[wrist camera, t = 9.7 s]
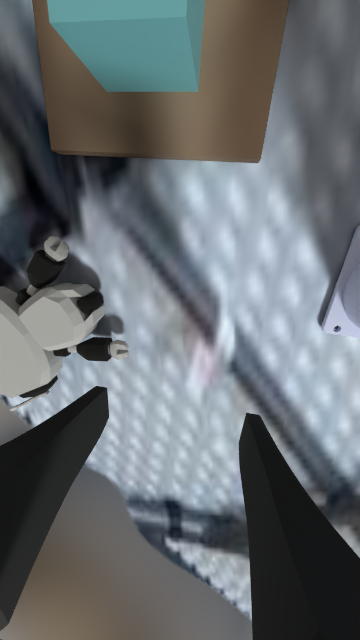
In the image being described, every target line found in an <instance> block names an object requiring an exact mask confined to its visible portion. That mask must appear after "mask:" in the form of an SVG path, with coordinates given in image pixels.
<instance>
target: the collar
mask: <svg viewBox="0 0 360 640" xmlns="http://www.w3.org/2000/svg"><path fill="white" fill-rule="evenodd" d="M47 4H48V13H49V22H50V24H51V25H52V26H53V28H54V29H55V30H56V31H57V32H58V34H59V35H60V36H61V37H62V38H63V40H64V41H65V42H66V43H67V44H68V46H69V47H70V48H71V49H72V50H73V52H74V53H75V54H76V55H77V56H78V58H79V59H80V60H81V61H82V62H83V64H84V65H85V66H86V67H87V68H88V70H89V71H90V72H91V73H92V75H93V76H94V77H95V78H96V79H97V81H98V82H99V83H100V84H101V85H102V87H103V88H104V89H105V90H106V91H107V92H198V87H199V74H200V61H201V47H202V34H203V21H204V8H205V0H47Z"/></svg>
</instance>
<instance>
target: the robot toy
mask: <svg viewBox="0 0 360 640" xmlns="http://www.w3.org/2000/svg"><path fill="white" fill-rule="evenodd" d="M60 240H61V238H59V237H58V236H50V237H49V238H48V239H47V240H46V241H45V243H44V247H45V250H39V251H37V252H36V253H35V255H34V257H33V259H32V261H31V263H30V265H29V267H28V268H27V272H28V277H29V281H30V285H29V287H28V289H23V290H21V291H20V292H19V294H17V293H16V292H14V291H12V290H10V289H8V288H6V287H0V394H2V395H5V396H8V397H11V398H12V397H15V396H18V395H19V396H20V397H22V398H27V397H33V398H31V399H29V400H27V401H25V402H23V403H21V404H19V405H16V406H14V407H13V408H12V409H11V410H10V411H14V410H16V409H18V408H19V407H21V406H23V405H25V404H27V403H29V402H31V401H33V400H35V399H37V398H39V397H43V396H45V395H47V394H48V393H49V392H50V391H49V389H50V388H51V387H52V386H53V385H54V383H55V382H56V381H57V379H58V378H57V374H58V372H59V371H60V370H61V368H62V367H63V366H62V356H63V357H66V356H68V355H70V354H71V352H73V353H78V354H80V355H81V356H82V357H84V358H85V359H87V360H89V361H108V360H109V359H111V357H114V358H116V359H122V358H126V357H127V356H128V353H129V352H128V350H127V348H128V344H127V343H126V342H125V341H121V340H116V341H114V342H113V341H112V338H103V337H93V338H91V339H88V340H86V341H84V342H82V343H80V342H81V341H82V340H83V339H85V338H86V337H87V336H88V335H89V334H90V333H92V331H93V330H94V329H95V328H96V327H97V324H98V321H99V320H100V319H101V318H102V317H103V316H104V315H105V307H104V305H103V302H104V301H103V298H102V296H101V295H100V294H99V293H98V292H93V293H91V294H89V295H86V294H88V293H90V292H92V291H94V290H95V289H94V288H92V287H91V286H89V285H88V284H77V285H74V284H71V283H59V284H56V285H53V286H50V287H47V288H44V289H41V288H42V287H44V286H46V285H48V284H50V283H52V282H53V281H54V280H56V278H57V277H58V275H59V273H60V272H61V270H62V268H63V267H64V265H65V262H64V261H63V259H65V258H67V255H68V251H69V246H68V244H67V243H66V242H61V243H60V245H59V247H57V246H58V244H59V242H60ZM40 289H41V290H40ZM102 305H103V306H102ZM100 306H101V307H100ZM99 307H100V308H99ZM97 308H99V309H97ZM95 309H97V310H95ZM79 343H80V344H79ZM120 349H125V350H120Z"/></svg>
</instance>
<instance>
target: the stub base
mask: <svg viewBox="0 0 360 640" xmlns="http://www.w3.org/2000/svg"><path fill="white" fill-rule="evenodd" d="M32 2H33V10H34V18H35V26H36V34H37V42H38V50H39V58H40V65H41V73H42V81H43V89H44V97H45V105H46V113H47V121H48V129H49V137H50V145H51V150H52V151H55V152H57V153H59V154H64V155H87V156H109V157H132V158H154V159H177V160H200V161H222V162H245V163H258V162H259V161H260V159H261V154H262V149H263V143H264V138H265V132H266V127H267V121H268V115H269V110H270V104H271V99H272V93H273V88H274V82H275V77H276V71H277V65H278V60H279V54H280V49H281V43H282V38H283V32H284V27H285V21H286V16H287V10H288V4H289V0H205V8H204V21H203V34H202V47H201V61H200V74H199V87H198V92H107V91H106V90H105V89H104V88H103V87H102V85H101V84H100V83H99V82H98V81H97V79H96V78H95V77H94V76H93V75H92V73H91V72H90V71H89V70H88V68H87V67H86V66H85V65H84V64H83V62H82V61H81V60H80V59H79V58H78V56H77V55H76V54H75V53H74V52H73V50H72V49H71V48H70V47H69V46H68V44H67V43H66V42H65V41H64V40H63V38H62V37H61V36H60V35H59V34H58V32H57V31H56V30H55V29H54V28H53V26H52V25H51V24H50V22H49V13H48V4H47V0H32Z"/></svg>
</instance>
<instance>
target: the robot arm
mask: <svg viewBox="0 0 360 640" xmlns="http://www.w3.org/2000/svg"><path fill="white" fill-rule="evenodd" d="M336 326H339V327H338V329H336V330H334V327H336ZM321 328H322V330H323V331H324V332H325V333H328V334H335V335H342V336H350V337H358V338H360V225H359V226H358V227H357V228H356V231H355V233H354V236H353V239H352V242H351V245H350V247H349V250H348V253H347V256H346V259H345V261H344V264H343V267H342V270H341V273H340V275H339V278H338V281H337V284H336V286H335V289H334V292H333V295H332V298H331V300H330V303H329V306H328V309H327V312H326V314H325V317H324V320H323V323H322V326H321ZM108 418H109V409H108V394H107V388H105V387H99V386H96V387H94V388H93V389H91V390H90V391H88V392H87V393H85V394H84V395H83V396H81V397H80V398H78V399H77V400H76V401H74V402H73V403H71V404H70V405H68V406H67V407H65V408H64V409H63V410H61V411H60V412H58V413H57V414H55V415H53V416H52V417H50V418H49V419H47V420H46V421H44V422H42V423H41V424H39V425H38V426H36V427H34V428H33V429H31V430H29V431H27V432H26V433H24V434H22V435H20V436H18V437H17V438H15V439H13V440H11V441H9V442H7V443H5V444H3V445H1V446H0V631H1V630H2V629H3V628H4V627H5V626H7V625H8V623H9V621H10V619H11V617H12V614H13V612H14V609H15V607H16V605H17V602H18V600H19V597H20V595H21V593H22V590H23V588H24V585H25V583H26V581H27V579H28V576H29V574H30V572H31V569H32V567H33V565H34V562H35V560H36V558H37V556H38V554H39V551H40V549H41V547H42V545H43V542H44V540H45V538H46V536H47V534H48V532H49V530H50V527H51V525H52V523H53V521H54V519H55V517H56V515H57V512H58V511H59V509H60V507H61V505H62V503H63V501H64V498H65V496H66V494H67V492H68V490H69V489H70V487H71V485H72V483H73V481H74V480H75V478H76V476H77V475H78V473H79V471H80V470H81V468H82V466H83V465H84V463H85V461H86V460H87V458H88V456H89V455H90V453H91V451H92V450H93V448H94V446H95V445H96V443H97V441H98V439H99V438H100V436H101V434H102V432H103V430H104V427H105V425H106V423H107V421H108ZM239 464H240V473H241V480H242V488H243V496H244V503H245V511H246V518H247V527H248V539H249V557H250V578H251V601H252V629H253V640H360V558H359V557H358V556H357V554H356V553H355V552H354V551H353V550H352V549H351V547H350V546H349V545H348V544H347V543H346V541H345V540H344V539H343V538H342V537H341V536H340V534H339V533H338V532H337V531H336V530H335V529H334V527H333V526H332V525H331V524H330V522H329V521H328V520H327V519H326V517H325V516H324V515H323V514H322V512H321V511H320V510H319V508H318V507H317V506H316V504H315V503H314V502H313V500H312V499H311V498H310V496H309V495H308V494H307V492H306V491H305V489H304V488H303V487H302V485H301V484H300V482H299V481H298V479H297V478H296V476H295V475H294V473H293V472H292V470H291V469H290V467H289V466H288V464H287V462H286V461H285V459H284V457H283V456H282V454H281V453H280V451H279V449H278V448H277V446H276V444H275V442H274V441H273V439H272V437H271V435H270V433H269V432H268V430H267V428H266V426H265V424H264V422H263V420H262V418H261V417H260V415H256V414H250V413H246V417H245V420H244V424H243V428H242V432H241V436H240V440H239ZM0 640H2V639H0Z"/></svg>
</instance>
